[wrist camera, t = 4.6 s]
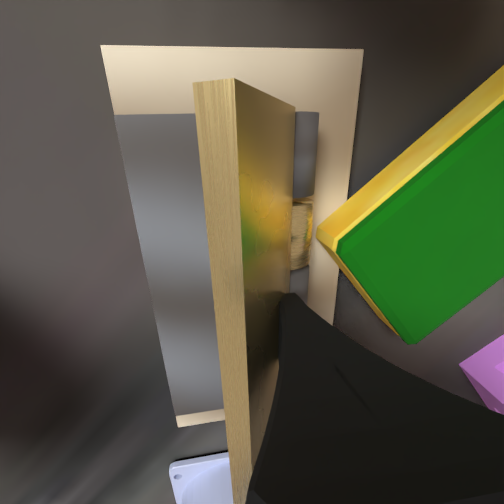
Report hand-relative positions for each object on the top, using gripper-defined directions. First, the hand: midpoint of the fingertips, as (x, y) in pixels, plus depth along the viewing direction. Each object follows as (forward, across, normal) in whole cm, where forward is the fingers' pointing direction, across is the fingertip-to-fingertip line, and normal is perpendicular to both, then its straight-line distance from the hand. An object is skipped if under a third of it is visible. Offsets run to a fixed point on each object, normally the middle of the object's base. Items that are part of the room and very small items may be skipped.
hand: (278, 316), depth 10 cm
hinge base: (+4, +1, 0) cm, 4 cm away
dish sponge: (+4, -10, -4) cm, 11 cm away
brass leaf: (0, +1, 0) cm, 1 cm away
